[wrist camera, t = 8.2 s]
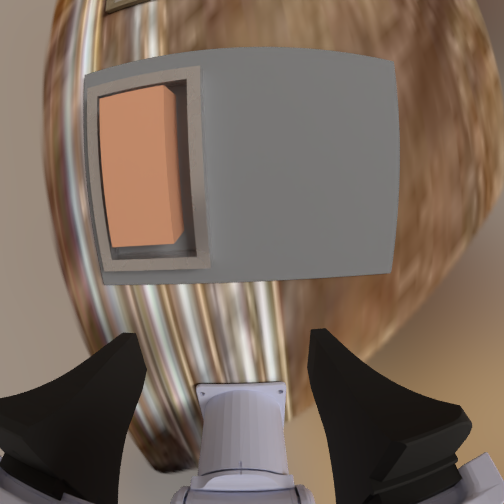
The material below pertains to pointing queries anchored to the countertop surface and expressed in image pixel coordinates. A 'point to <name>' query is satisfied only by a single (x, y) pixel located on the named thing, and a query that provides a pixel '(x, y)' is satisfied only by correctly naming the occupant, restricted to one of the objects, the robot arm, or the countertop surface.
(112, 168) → the tall peach block
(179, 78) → the tray frame
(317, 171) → the mat
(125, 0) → the framed mirror
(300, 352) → the countertop surface
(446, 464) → the robot arm
